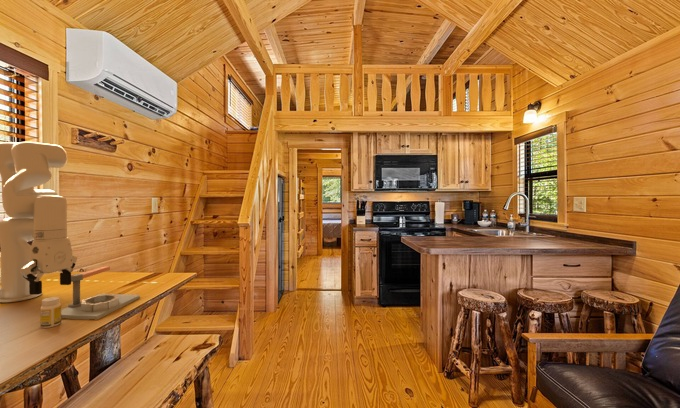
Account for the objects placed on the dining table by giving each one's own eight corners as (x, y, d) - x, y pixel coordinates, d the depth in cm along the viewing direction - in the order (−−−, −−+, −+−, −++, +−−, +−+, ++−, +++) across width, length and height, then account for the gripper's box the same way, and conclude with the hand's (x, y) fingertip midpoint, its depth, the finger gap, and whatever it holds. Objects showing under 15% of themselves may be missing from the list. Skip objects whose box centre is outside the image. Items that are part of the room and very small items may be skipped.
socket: (80, 314, 102) (80, 306, 102) (81, 304, 110) (81, 297, 110) (119, 307, 109) (119, 300, 108) (117, 299, 117) (117, 292, 117)
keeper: (76, 281, 107) (76, 276, 107) (66, 281, 107) (66, 276, 107) (111, 270, 123) (111, 266, 123) (102, 270, 123) (102, 265, 123)
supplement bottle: (59, 320, 99) (59, 295, 99) (62, 324, 96) (62, 298, 96) (39, 325, 96) (39, 299, 95) (41, 329, 93) (41, 302, 92)
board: (96, 319, 101) (97, 290, 100) (47, 317, 101) (47, 288, 101) (139, 298, 122) (139, 273, 121) (98, 296, 122) (98, 272, 122)
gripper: (34, 239, 86) (35, 298, 87) (86, 232, 103) (86, 281, 104) (8, 238, 86) (9, 298, 87) (64, 231, 104) (64, 281, 104)
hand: (51, 289), depth 95 cm, fingers open, 9 cm apart
